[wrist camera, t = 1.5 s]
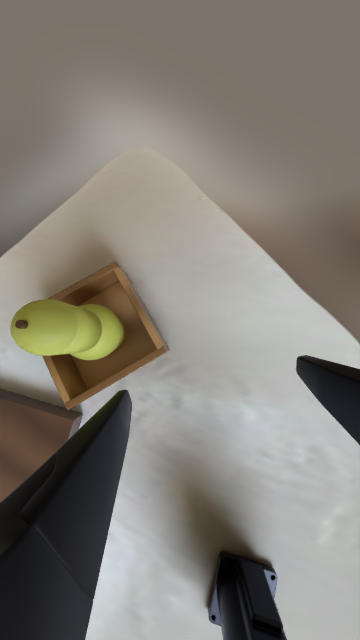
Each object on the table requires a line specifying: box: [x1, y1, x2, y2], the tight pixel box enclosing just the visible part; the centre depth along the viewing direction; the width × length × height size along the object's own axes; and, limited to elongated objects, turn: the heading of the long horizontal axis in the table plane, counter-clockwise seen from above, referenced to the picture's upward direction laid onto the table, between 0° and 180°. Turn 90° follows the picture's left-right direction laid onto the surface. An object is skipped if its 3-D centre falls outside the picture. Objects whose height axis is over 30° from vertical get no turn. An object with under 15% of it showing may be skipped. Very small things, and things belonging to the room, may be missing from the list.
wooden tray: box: [43, 262, 170, 410], centre depth 21 cm, size 13×13×4 cm
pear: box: [11, 299, 125, 360], centre depth 17 cm, size 6×6×12 cm
